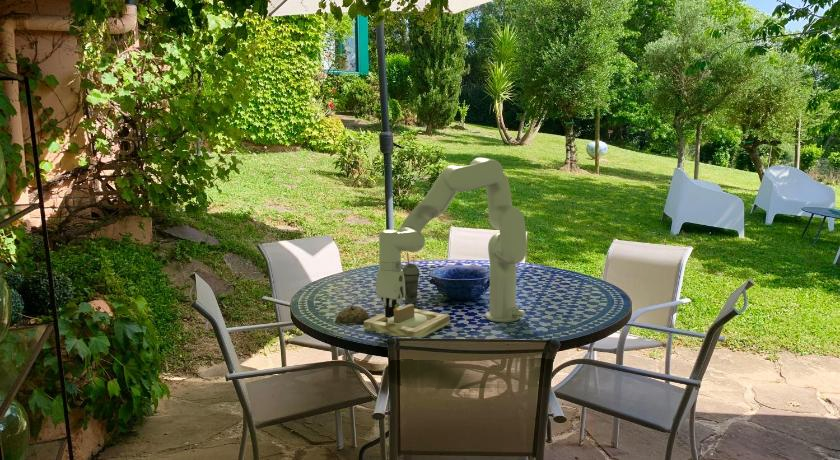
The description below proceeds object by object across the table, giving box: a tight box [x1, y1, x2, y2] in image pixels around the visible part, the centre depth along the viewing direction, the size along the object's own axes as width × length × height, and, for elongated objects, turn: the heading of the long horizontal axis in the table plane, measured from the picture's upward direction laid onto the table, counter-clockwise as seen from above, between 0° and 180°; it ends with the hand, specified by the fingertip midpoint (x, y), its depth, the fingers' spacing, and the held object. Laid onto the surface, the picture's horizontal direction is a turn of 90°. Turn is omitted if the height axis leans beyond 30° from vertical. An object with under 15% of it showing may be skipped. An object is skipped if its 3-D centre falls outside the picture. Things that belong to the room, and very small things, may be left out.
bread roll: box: [334, 305, 370, 325], centre depth 242 cm, size 13×12×5 cm
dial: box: [388, 303, 427, 328], centre depth 232 cm, size 14×14×6 cm
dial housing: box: [363, 305, 451, 338], centre depth 233 cm, size 22×22×3 cm
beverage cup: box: [401, 252, 421, 304], centre depth 263 cm, size 7×7×20 cm
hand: (389, 316), depth 230 cm, fingers closed
